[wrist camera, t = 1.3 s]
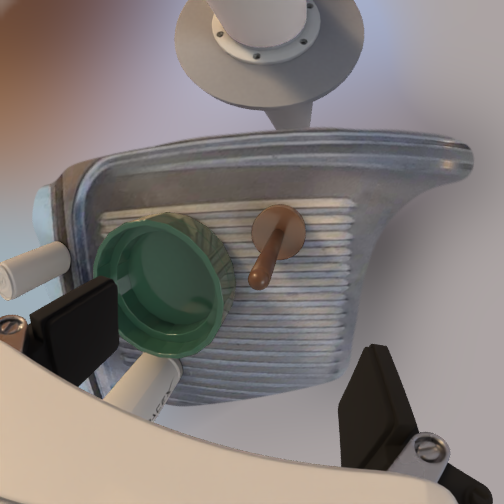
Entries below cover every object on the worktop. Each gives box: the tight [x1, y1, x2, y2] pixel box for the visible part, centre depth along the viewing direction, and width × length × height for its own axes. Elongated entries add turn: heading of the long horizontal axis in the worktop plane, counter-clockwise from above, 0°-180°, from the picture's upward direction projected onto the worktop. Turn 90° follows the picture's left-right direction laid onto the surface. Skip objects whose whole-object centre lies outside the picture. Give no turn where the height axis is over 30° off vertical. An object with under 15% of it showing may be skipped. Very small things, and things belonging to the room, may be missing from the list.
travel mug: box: [103, 352, 183, 422], centre depth 29 cm, size 6×7×20 cm
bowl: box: [93, 212, 236, 359], centre depth 31 cm, size 15×15×6 cm
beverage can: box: [0, 242, 71, 301], centre depth 31 cm, size 5×5×12 cm
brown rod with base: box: [248, 204, 306, 290], centre depth 23 cm, size 5×5×16 cm
